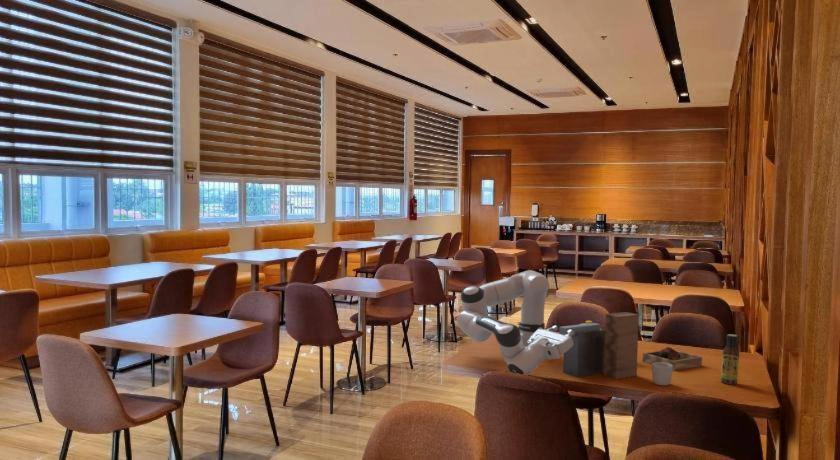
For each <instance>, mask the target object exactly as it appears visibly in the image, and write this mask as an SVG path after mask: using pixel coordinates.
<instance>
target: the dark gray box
mask: <svg viewBox="0 0 840 460" xmlns="http://www.w3.org/2000/svg"><path fill="white" fill-rule="evenodd" d="M571 338H572V340H573V342H574V344H573V346H572V347H571V348H570V349H569V350H568V351H567V352H565V353H564V354H563V355H562V356H563V359H562V360H563V362H562V363H563V365H562V373H564V374H566V375H570V376H573V377H576V378H580V377H586V376H592V375H598V374H604V352H605V328H604V329H601V330H595V331H587V332H578V333H577V335H575V336H571Z"/></svg>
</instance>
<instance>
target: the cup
mask: <svg viewBox="0 0 840 460" xmlns="http://www.w3.org/2000/svg"><path fill="white" fill-rule="evenodd" d="M672 369H673V365H671V364H669V363H663V362H654V363H652V364H651V371H652V382H653V383H654V384H655V385H658V386H662V387H663V386H669V385H670V384H671V381H672V377H673V370H672Z"/></svg>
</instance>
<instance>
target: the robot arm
mask: <svg viewBox="0 0 840 460" xmlns="http://www.w3.org/2000/svg"><path fill="white" fill-rule="evenodd" d="M549 289H550V283H549V280H548V278H547V277H546V276H545V275H544V274H542V273H540V272H537V271H535V270H531V269H528V270H525V271H522V272H520V273H516V274H513V275H511V276H509V277H506V278H502V279H499V280H495V281H491V282H487V283H485V284H482V285H480V286H478V285H469V286H466V287H465V288H463V290H461V293H460V299H461V306H462V311H461V312H459V314H458V315H457V318H456V323H457V326H458V328H459V329H460V330H461V331H462V332H463V333H464V334H465V335H467V336H468V337H469V338H470V339H472V340H474V341H475V342H479V343H483V342H486V341H487V340H489V339H490V338H491V336H492V335H494V336H495V339H496V342H497V343H498V347H499V350H500V355H501V356H502V359H503V362H504V363H506V365H507V368H508V369H507V370H508V371H509V372H510V373H511V372H513V373H519V374H525V375H526V376H527V375H529V374H530V373H532V372H533V371H535V370H536V369H537V368H538V366H539V365H540V364H541V363H544V362H545V361H546V360H547V361H548V360H559V359H560V358H561V357H562V356H561V355H564V353H565V352H567V351H568V350H569V349H570V348H571V347H572V346H573V344H574V342H573V340H572V338H571V336H572V335H573V334H574V332H573V330H569V331H567V332H568V334H566V335H563V334H559V332H557V331H559V327H558V326H557V325H553V326H552V327H548V328H547V329H545V327H546V325H545V305H546V300H547V294H548V291H549ZM522 296H523V299H522V303H521V307H520V321H518V322H517V325H515V324H513V323H507V322H504V321H501V320H499V319H496V318H494V317H493V316H490V315H488V309H487V308H488V307H492V306H496V305H501V304H504V303H508V302H511V301H514V300H516V299H518V298H520V297H522Z"/></svg>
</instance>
